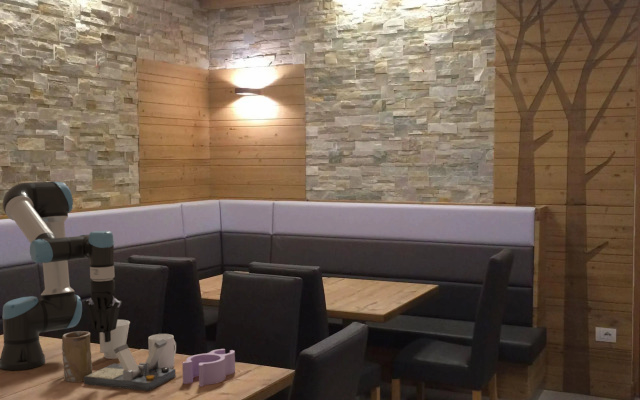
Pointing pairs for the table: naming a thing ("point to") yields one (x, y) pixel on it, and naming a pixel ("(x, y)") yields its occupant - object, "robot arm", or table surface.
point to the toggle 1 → (127, 359)
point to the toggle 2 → (155, 353)
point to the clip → (209, 367)
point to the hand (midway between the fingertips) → (104, 351)
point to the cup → (117, 338)
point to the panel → (130, 377)
